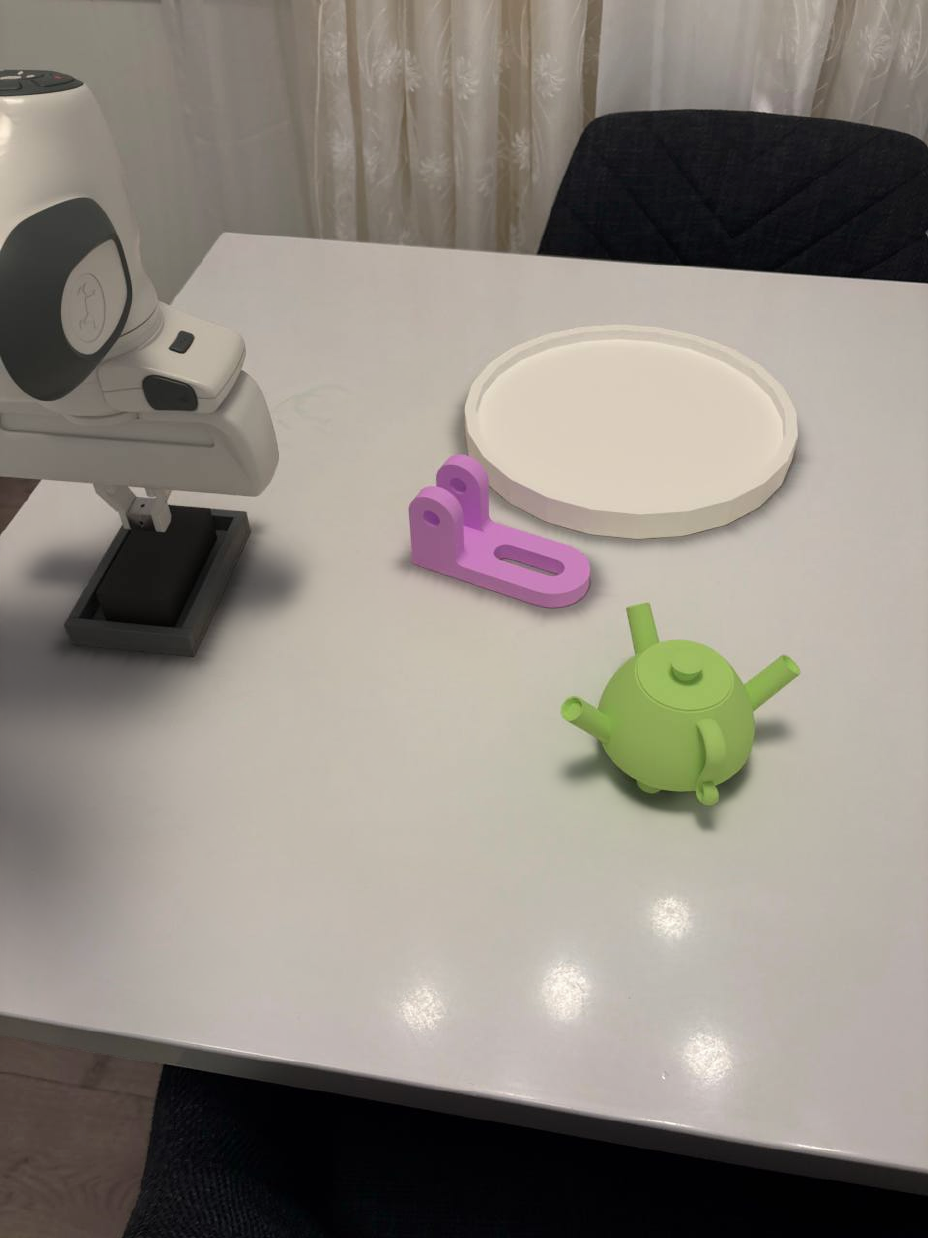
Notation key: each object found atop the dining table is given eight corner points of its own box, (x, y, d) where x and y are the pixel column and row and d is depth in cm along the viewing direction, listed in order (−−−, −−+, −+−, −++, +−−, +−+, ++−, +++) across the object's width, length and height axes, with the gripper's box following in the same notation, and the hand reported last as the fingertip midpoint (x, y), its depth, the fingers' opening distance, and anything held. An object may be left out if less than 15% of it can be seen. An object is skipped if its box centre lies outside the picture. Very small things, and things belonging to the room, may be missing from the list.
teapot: (718, 856, 61) (743, 768, 55) (545, 773, 65) (550, 683, 59) (785, 727, 67) (814, 636, 61) (624, 659, 72) (636, 568, 66)
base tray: (194, 657, 73) (188, 637, 71) (71, 644, 74) (62, 624, 72) (251, 530, 82) (246, 511, 81) (141, 521, 83) (134, 501, 82)
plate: (863, 472, 86) (871, 447, 84) (572, 583, 77) (574, 558, 75) (666, 320, 104) (669, 297, 102) (411, 397, 95) (409, 373, 93)
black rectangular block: (173, 629, 74) (164, 599, 72) (106, 623, 75) (95, 593, 72) (217, 537, 81) (210, 507, 79) (156, 532, 81) (147, 502, 79)
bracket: (412, 563, 79) (407, 491, 74) (446, 520, 83) (443, 448, 78) (571, 616, 75) (576, 543, 70) (600, 569, 78) (607, 496, 73)
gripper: (-88, 369, 63) (-9, 542, 73) (237, 392, 61) (273, 567, 71) (-38, 316, 68) (30, 486, 77) (268, 335, 65) (297, 508, 75)
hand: (148, 525), depth 74 cm, fingers closed
